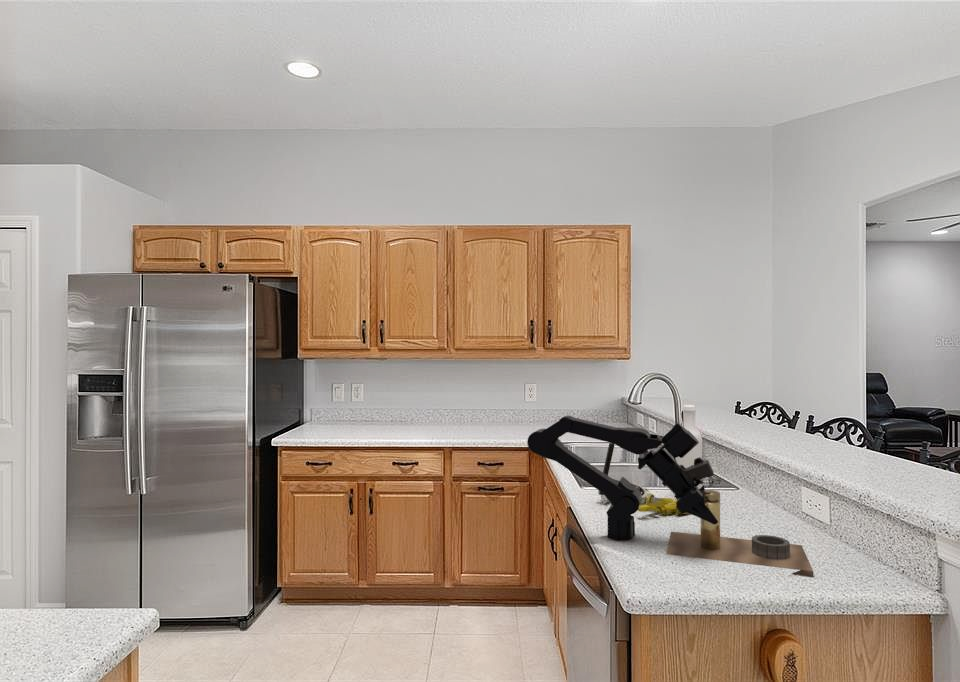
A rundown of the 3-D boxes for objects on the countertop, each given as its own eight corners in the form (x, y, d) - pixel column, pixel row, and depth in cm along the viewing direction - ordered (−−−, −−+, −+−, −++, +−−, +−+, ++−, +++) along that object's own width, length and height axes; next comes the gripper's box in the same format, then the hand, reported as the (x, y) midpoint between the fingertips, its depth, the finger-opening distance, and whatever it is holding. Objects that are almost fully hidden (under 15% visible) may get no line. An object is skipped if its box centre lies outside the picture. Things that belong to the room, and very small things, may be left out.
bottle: (708, 500, 192) (708, 406, 193) (688, 503, 189) (688, 407, 190) (690, 495, 200) (690, 403, 200) (671, 497, 197) (671, 404, 197)
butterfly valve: (643, 496, 197) (592, 493, 194) (657, 440, 191) (604, 436, 189) (654, 511, 189) (600, 508, 186) (668, 454, 183) (613, 450, 180)
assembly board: (666, 559, 140) (666, 540, 140) (670, 536, 157) (670, 519, 157) (813, 576, 129) (813, 557, 129) (801, 550, 146) (801, 532, 146)
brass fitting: (712, 551, 142) (712, 495, 142) (696, 545, 145) (696, 491, 146) (724, 547, 144) (724, 492, 144) (707, 542, 148) (707, 489, 148)
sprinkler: (724, 512, 179) (658, 500, 191) (724, 491, 179) (658, 480, 191) (700, 538, 162) (629, 522, 174) (700, 514, 161) (629, 500, 173)
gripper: (691, 455, 138) (744, 508, 134) (693, 442, 155) (740, 489, 151) (655, 487, 140) (706, 540, 136) (661, 471, 158) (707, 518, 154)
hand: (716, 520), depth 144 cm, fingers closed on brass fitting, 4 cm apart
